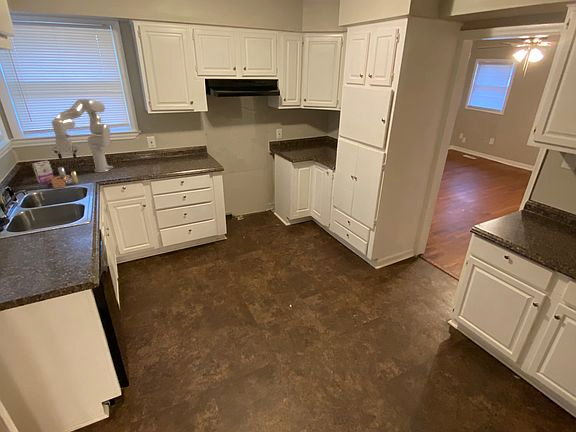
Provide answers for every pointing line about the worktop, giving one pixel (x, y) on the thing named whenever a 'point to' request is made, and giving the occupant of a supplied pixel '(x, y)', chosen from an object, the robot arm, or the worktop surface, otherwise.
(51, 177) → the candy bar box
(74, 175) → the locking pin
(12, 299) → the worktop surface
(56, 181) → the rosette post
